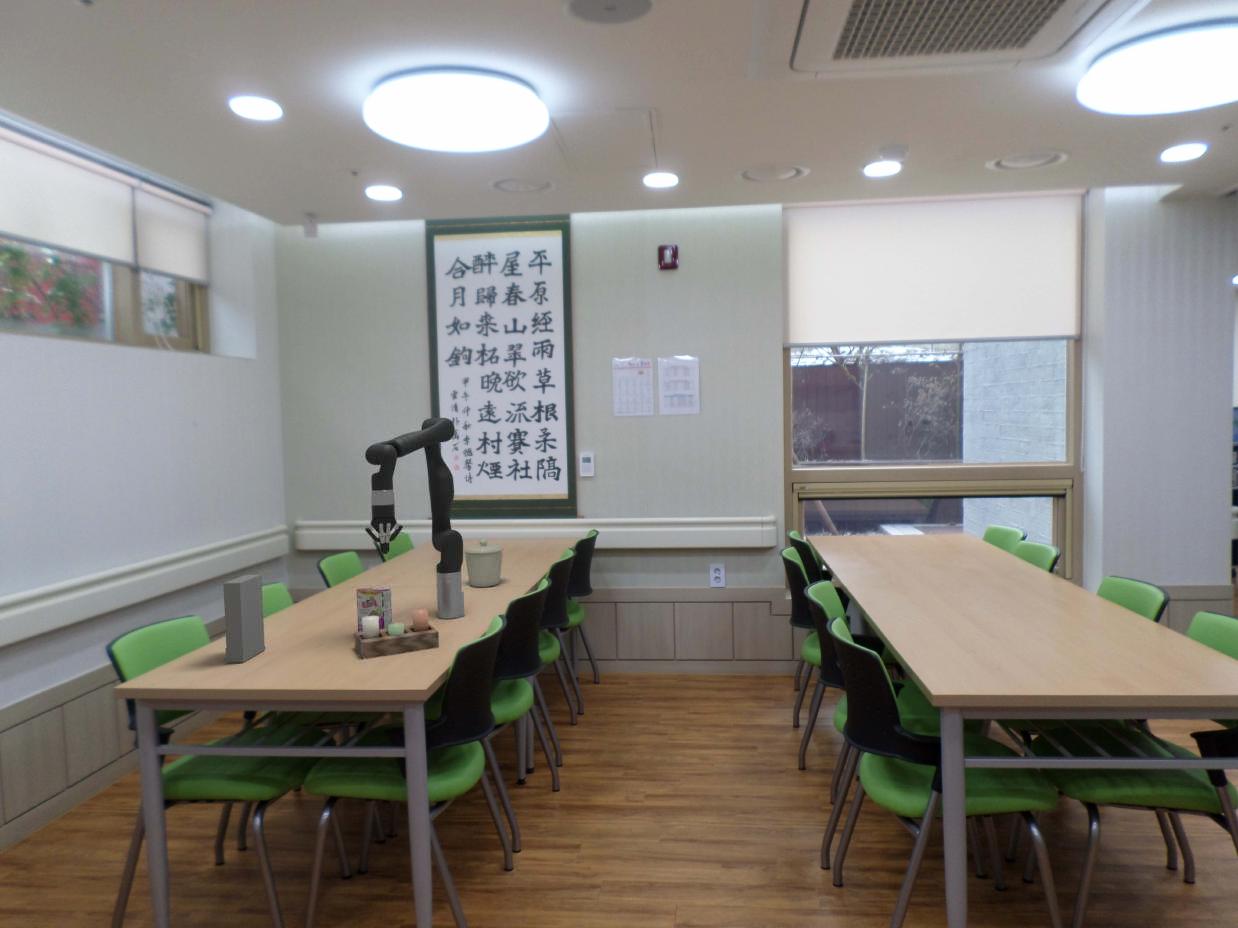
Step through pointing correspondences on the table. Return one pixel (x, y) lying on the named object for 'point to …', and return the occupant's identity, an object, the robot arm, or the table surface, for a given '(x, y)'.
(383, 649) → the button board
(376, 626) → the button cream
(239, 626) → the upright grey tower
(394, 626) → the green pillar candle
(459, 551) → the robot arm
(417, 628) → the pink candle
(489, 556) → the canister
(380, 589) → the candy bar box
